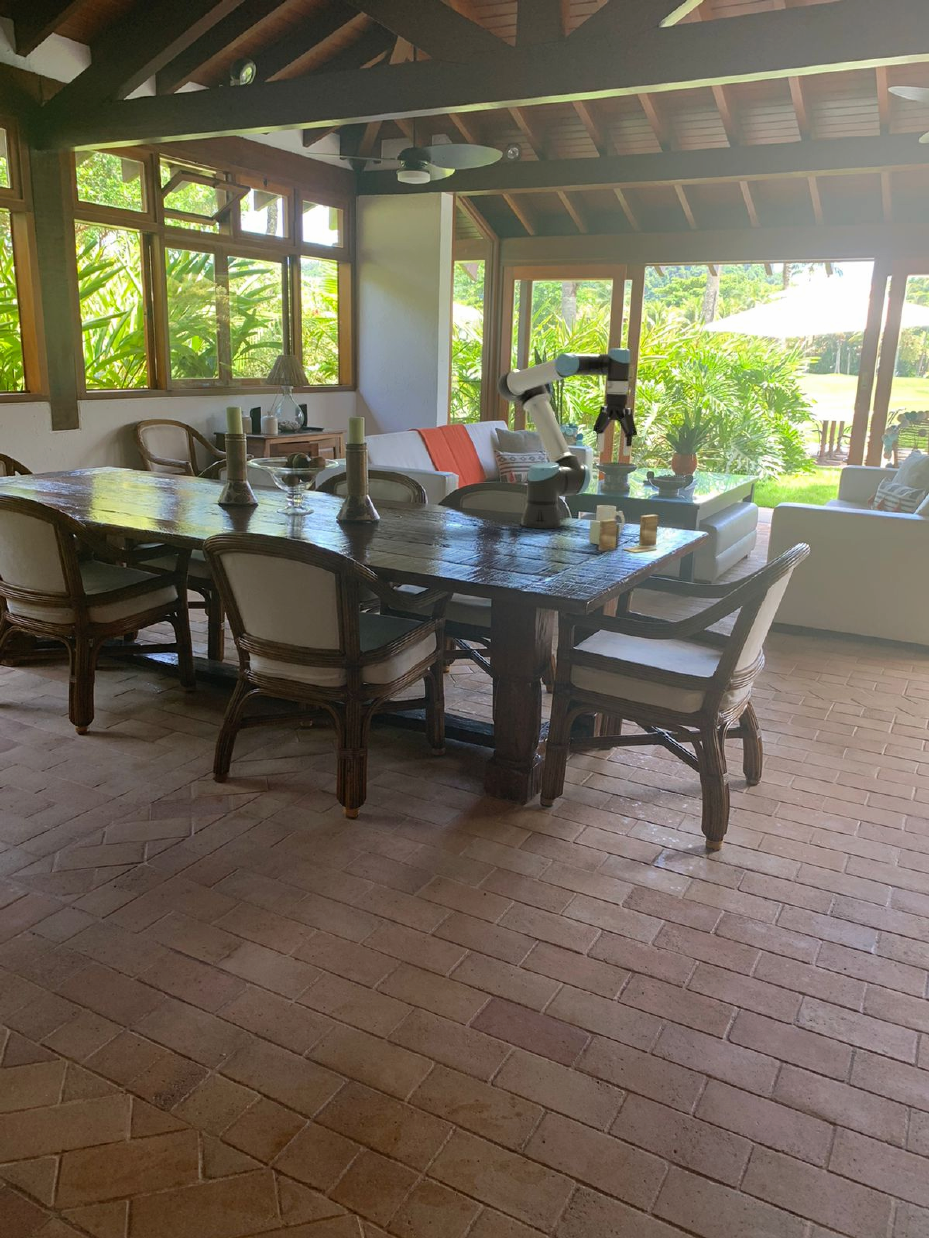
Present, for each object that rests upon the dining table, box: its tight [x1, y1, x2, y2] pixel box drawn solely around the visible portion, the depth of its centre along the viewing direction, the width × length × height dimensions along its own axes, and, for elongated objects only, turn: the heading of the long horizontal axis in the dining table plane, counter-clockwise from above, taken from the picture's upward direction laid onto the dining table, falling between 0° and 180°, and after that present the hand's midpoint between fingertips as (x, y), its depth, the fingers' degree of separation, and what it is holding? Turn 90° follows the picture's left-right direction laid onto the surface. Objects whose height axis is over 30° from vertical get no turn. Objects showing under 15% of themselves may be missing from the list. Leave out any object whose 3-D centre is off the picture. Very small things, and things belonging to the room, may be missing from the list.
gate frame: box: [598, 514, 659, 554], centre depth 315 cm, size 10×25×10 cm, turn 125°
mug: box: [595, 504, 626, 535], centre depth 327 cm, size 10×7×12 cm, turn 73°
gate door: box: [588, 520, 621, 549], centre depth 319 cm, size 12×1×8 cm, turn 43°
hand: (613, 453), depth 338 cm, fingers open, 13 cm apart
